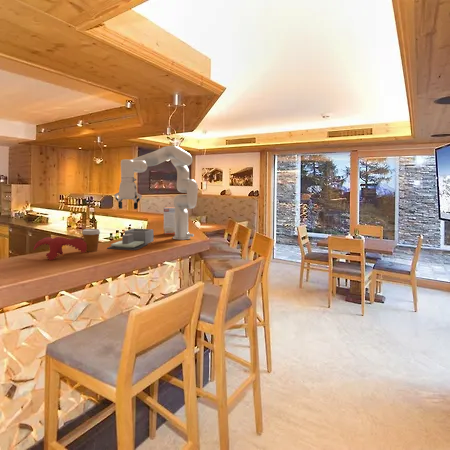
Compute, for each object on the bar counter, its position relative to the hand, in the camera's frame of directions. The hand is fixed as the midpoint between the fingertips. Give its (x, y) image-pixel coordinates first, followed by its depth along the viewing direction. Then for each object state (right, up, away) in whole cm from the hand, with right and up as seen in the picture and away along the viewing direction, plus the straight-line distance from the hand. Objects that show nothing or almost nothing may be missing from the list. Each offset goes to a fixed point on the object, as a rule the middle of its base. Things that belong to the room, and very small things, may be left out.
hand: (128, 208), depth 201 cm
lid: (-1, -23, +2) cm, 23 cm away
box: (+2, -21, +19) cm, 29 cm away
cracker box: (+18, -17, +58) cm, 63 cm away
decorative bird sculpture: (-27, -27, -32) cm, 49 cm away
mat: (-1, -23, +2) cm, 23 cm away
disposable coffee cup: (-17, -25, -12) cm, 32 cm away
